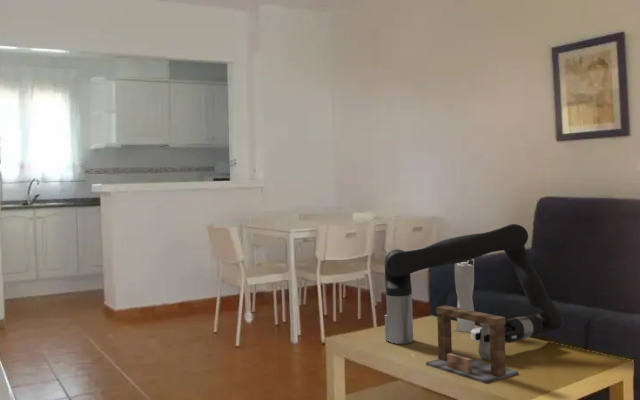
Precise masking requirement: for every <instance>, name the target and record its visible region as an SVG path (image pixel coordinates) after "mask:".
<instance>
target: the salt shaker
mask: <svg viewBox="0 0 640 400" xmlns="http://www.w3.org/2000/svg"><path fill="white" fill-rule="evenodd" d="M479 325H480V327H482V329H481V336H480V342H478V343H479V344H478V349H477V350H478V354H479V357H480V359H483V360H490V342H484V335H490V325H488V324H483V323H479ZM490 361H491V360H490Z"/></svg>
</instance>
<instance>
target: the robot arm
mask: <svg viewBox="0 0 640 400" xmlns="http://www.w3.org/2000/svg"><path fill="white" fill-rule="evenodd" d="M528 239H529V233H528V230H527V229H526V228H525V227H523V226H522V225H520V224H516V223H512V224H508V225H506V226H502V227H500V228H497V229H493V230H491V231H485V232H481V233H472V234H467V235H459V236H456V237H455V236H454V237H449V238H446V239H442V240H440V241H437V242H435V243H433V244H431V245H428V246H425V247H423V248H418V249H412V250H405V251H404V250H402V249H399V248H397V249H393V250H390V251H389V252H388V253H387V254H386V255H385V258H384V280H385V281H384V282H385V284H384V285H385V294H386V296H385V299H386V314H385V315H384V331H385V332H384V333H385V334H384V335H385V337H384V338H385V339H384V340H385V342H388V341H389V342H388V343H390V342H391V343H390V344H394V343H395V344H396V345H397V344H399V345H405V344H406V345H407V344H410V343H412V342H413V343H414V325H413V323H414V321H413V297H412V296H413V295H412V294H413V293H412V291H413V290H412V280H411V274H413V273H416V272H419V271H422V270H426V269H432V268H438V267H446V266H449V265H450V266H451V265H455V264H456V263H459V264H460V263H461V262H467V261H468V260H469V261H473V260H472V259H474V260H475V259H477V258H480V257H482V256H485V255H488V254H491V253H494V252H500V251H504V253H505V255H506V256H507V258H508V259H509V261H510V263H511V265H512V266H513V268H514V271H515V273H516V274H517V278H518V280H519V282H520V284H521V288H522V290H523V292H524V294H525V295H524V296H525V297H526V300H527V302H528V304H529V306H530V307H531V308H538V309H540V310H541V311H542V312H540V313H536V314H531V315H530V314H529V315H526V316H525V315H524V316H517V317H512V318H508V319H505V323H506V324H504V329H505V343H509V344H511V343H515V342H518V341H523V340H526V339H527V338H532V337H535V336H537V335H538V336H539V335H542V334H546V333H550V332H554V331H558V330H560V329H561V328H563V327H564V326H563V325H564V317H563V315H562V313H561V312H560V310H559V309H558V307H557V306H556V305H555V303H554V301H552V300H551V298H550V297H549V295H548V292H547V290H546V288H545V286H544V283H543V281H542V279H541V277H540V276H539V273H538V272H537V271H536V269H535V268H534V266H533V264H532V262H531V259H530V258H529V256H528V253H527V250H526V247H525V246H526V244H527V243H528ZM456 265H457V264H456ZM480 336H481V329H480V333H476V334H475V337H476V340H480ZM484 342H490V335H484Z"/></svg>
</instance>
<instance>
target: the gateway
mask: <svg viewBox="0 0 640 400" xmlns="http://www.w3.org/2000/svg"><path fill="white" fill-rule="evenodd" d="M435 314H437V315H436V316H437V317H436V318H437V319H436V321H437V346H438V350H437V351H438V353H437V354H438V358H437V359H434V360H431V361H429V360H428V361H426V362H425V366H429V367H432V368H435V369H438V370H442V371H445V372H448V373H451V374H455V375H457V376H460V377H464V378H466V379H467V378H468V379H469V380H474V381H477V382H480V383H483V384H488V383H489V384H490V383H492V382H496V381H498V380H502V379H506V378H509V377H512V376H516V375H518V374H519V370H515V369H512V368H508V367H506V342H505V329H504V324H506V323H505V320H506V317H505V316H500V315H495V314H490V313H484V312H481V311H475V310H474V311H471V310H466V309H461V308H457V306H456V307H454V306H450V305H445V304H444V305H440V306H435ZM452 318H456V319H457V318H460V319H465V320H470V321H474V322H475V323H479V324H480V323H483V324H488V325H490V363H489V362H488V361H487V362H486V361H482V360H479V359H475V358H472V357H468V356H465V355H461V354H454V353H453V350H452V349H453V343H452V321H451V320H452Z"/></svg>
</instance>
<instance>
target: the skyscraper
mask: <svg viewBox="0 0 640 400" xmlns="http://www.w3.org/2000/svg"><path fill="white" fill-rule="evenodd" d="M469 261H470V260H468V261H465V262H461V263H456V264H454V285H455V291H456V297H457V301H456V302H457V304H456V308H461V309H466V310H471V311H475V308H474V300H473V294H474V287H475V259H472V260H471V261H472V264H469ZM474 328H476V322H474V321H470V320H465V319H460V318H456V328H455V329H453V330H452V331H453V332H458V333H459V332H460V333H469V334H471V330H472V329H474Z"/></svg>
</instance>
